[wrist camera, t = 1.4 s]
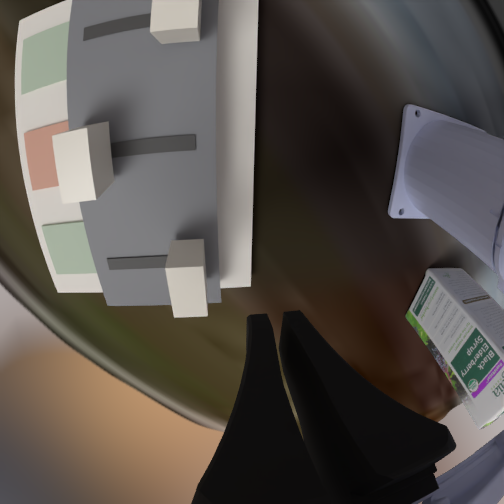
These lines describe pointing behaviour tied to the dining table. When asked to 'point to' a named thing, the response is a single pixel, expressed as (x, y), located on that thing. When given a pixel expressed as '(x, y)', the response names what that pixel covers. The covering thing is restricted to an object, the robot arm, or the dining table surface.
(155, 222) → the switch unit
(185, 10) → the knob near
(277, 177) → the dining table surface
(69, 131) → the knob middle
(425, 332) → the syrup box
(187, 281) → the knob far
